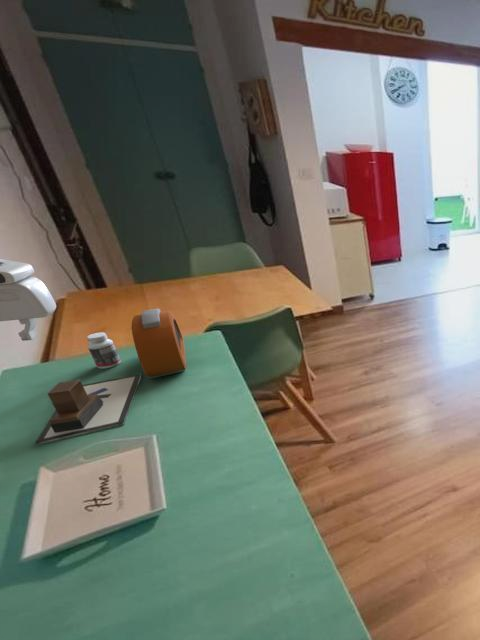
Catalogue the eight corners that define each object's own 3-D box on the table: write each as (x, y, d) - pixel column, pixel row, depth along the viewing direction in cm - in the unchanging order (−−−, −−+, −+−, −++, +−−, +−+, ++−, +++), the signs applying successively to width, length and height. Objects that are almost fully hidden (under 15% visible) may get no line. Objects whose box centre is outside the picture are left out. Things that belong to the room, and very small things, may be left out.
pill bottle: (93, 366, 123) (79, 336, 118) (115, 358, 127) (102, 329, 123) (103, 370, 121) (89, 340, 116) (125, 362, 125) (112, 333, 121)
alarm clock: (188, 375, 120) (169, 322, 113) (148, 384, 115) (126, 329, 108) (185, 345, 137) (169, 297, 129) (150, 351, 132) (131, 302, 125)
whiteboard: (36, 445, 92) (34, 443, 92) (70, 389, 112) (69, 387, 112) (124, 424, 99) (123, 422, 99) (141, 375, 119) (140, 373, 119)
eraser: (83, 428, 97) (67, 395, 93) (54, 433, 95) (36, 400, 91) (103, 404, 105) (88, 374, 101) (76, 408, 103) (61, 377, 99)
